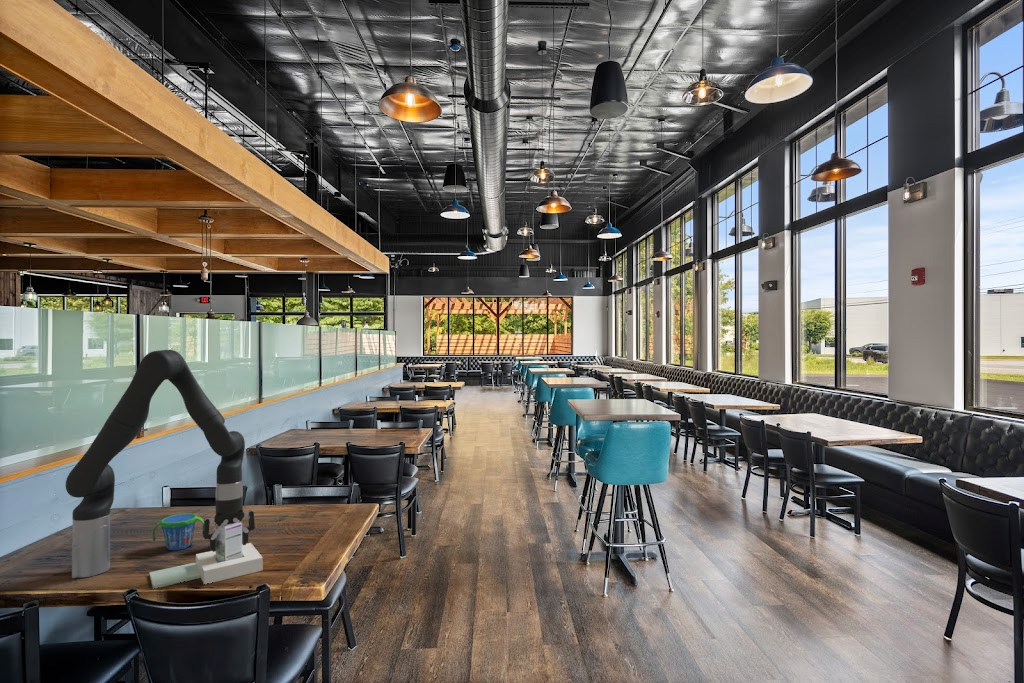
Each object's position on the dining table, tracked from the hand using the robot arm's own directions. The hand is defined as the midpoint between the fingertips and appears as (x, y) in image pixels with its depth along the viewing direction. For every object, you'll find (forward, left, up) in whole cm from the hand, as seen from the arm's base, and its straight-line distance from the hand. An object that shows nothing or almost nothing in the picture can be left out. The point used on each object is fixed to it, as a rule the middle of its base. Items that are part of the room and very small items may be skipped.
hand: (229, 547), depth 167 cm
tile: (-14, +4, -7) cm, 16 cm away
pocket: (0, 0, -7) cm, 7 cm away
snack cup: (-10, +31, -7) cm, 33 cm away
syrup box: (0, 0, -7) cm, 7 cm away
